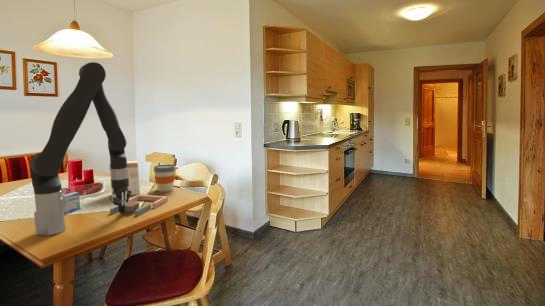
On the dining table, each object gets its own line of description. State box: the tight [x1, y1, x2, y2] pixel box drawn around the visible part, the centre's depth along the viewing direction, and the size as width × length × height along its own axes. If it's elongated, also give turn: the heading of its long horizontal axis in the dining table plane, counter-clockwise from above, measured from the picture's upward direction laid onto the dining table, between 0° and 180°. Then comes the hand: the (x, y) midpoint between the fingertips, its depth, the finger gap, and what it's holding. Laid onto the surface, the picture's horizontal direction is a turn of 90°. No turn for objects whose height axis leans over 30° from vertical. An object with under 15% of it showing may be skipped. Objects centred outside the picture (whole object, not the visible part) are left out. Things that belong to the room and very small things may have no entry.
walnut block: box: [123, 201, 140, 215], centre depth 156 cm, size 6×6×4 cm
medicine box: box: [62, 191, 81, 214], centre depth 156 cm, size 8×4×9 cm, turn 168°
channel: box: [109, 202, 152, 217], centre depth 156 cm, size 11×15×2 cm
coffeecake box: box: [109, 160, 141, 197], centre depth 185 cm, size 15×7×20 cm, turn 114°
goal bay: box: [128, 194, 169, 209], centre depth 169 cm, size 12×18×2 cm
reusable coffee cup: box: [153, 164, 176, 192], centre depth 196 cm, size 13×13×15 cm
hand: (122, 212), depth 149 cm, fingers closed
